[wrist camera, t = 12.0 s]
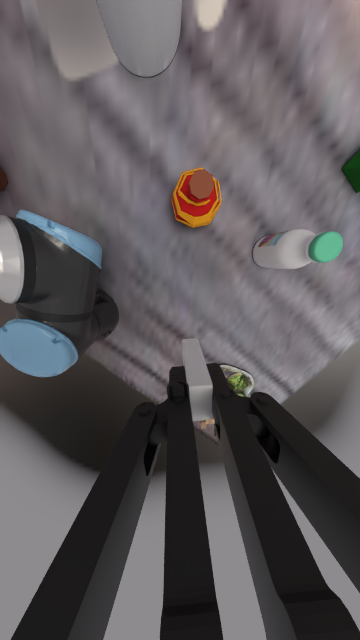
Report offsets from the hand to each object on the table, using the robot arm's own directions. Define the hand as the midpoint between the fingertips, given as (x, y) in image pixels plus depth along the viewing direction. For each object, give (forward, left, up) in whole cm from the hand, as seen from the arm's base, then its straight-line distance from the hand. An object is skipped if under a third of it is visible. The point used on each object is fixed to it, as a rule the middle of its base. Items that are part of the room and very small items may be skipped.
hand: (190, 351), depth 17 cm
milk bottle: (+24, +8, -34) cm, 43 cm away
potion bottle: (+5, +19, -34) cm, 40 cm away
